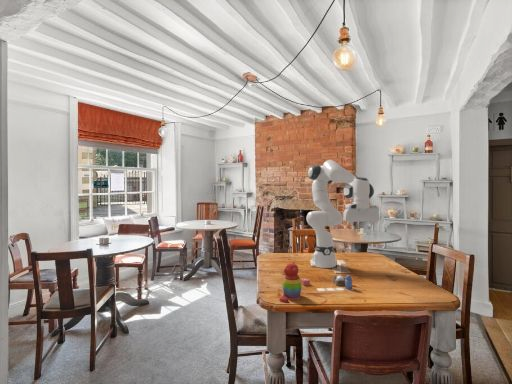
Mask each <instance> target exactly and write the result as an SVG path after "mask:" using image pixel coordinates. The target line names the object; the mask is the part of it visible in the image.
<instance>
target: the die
mask: <svg viewBox="0 0 512 384" xmlns="http://www.w3.org/2000/svg"><path fill="white" fill-rule="evenodd" d="M300 280H301V285H302V287H307V286H310V285H311V280H310V279H309V278H307V277H306V278H305V277H304V278H300Z"/></svg>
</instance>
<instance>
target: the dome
mask: <svg viewBox="0 0 512 384" xmlns="http://www.w3.org/2000/svg"><path fill="white" fill-rule="evenodd" d="M336 277H337V278H336V280H344V278H343V277H344V276H342V275H338V276H336Z"/></svg>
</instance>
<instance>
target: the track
mask: <svg viewBox="0 0 512 384" xmlns="http://www.w3.org/2000/svg"><path fill="white" fill-rule="evenodd" d="M315 289H316V290H317V291H318V292H326V291H329V292H333V291H334V292H335V291H338V292H339V291H345V290H346V291H348V290H347V289H345V288H344V287H334V288H333V287H326V288H324V287H323V288H322V287H321V288H320V287H319V288H315ZM351 291H354V289H353V288H352V290H351Z"/></svg>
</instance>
